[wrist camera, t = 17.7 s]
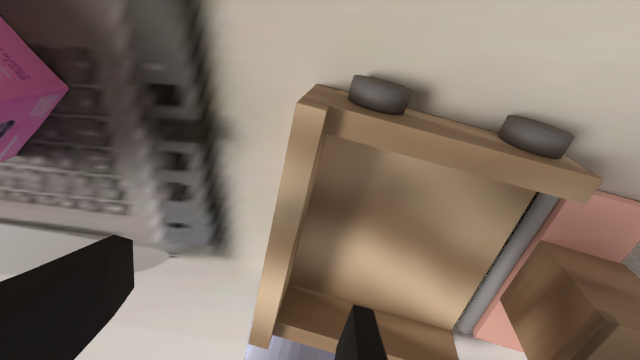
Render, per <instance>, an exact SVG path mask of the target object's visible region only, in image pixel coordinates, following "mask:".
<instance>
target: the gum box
mask: <svg viewBox="0 0 640 360" xmlns="http://www.w3.org/2000/svg"><path fill="white" fill-rule="evenodd" d="M68 90H69V87H68V85H66V84H65V83H64V82H63V81H62V80H61V79H59V78H58V77H57V76H56V75H55V74H54V73H53V72H52V71H51V70H50V69H49V68H48V67H47V65H46V64H45V63H44V62H43V61H42V60H41V59H40V58H39V57H38V56H37V55H36V54H35V53H34V52H33V51H32V50H31V49H30V48H29V47H28V46H27V45H26V44H25V43H24V42H23V40H22V39H21V38H20V37H19V36H18V35H17V33H16V32H15V31H14V30H13V29H12V28H11V27H10V26H9V25H8V24H7V23H6V22H5V21H4V20H3V19H2V18H1V17H0V161H3V160H6V159H8V158H11V157H14V156H15V155H16V154H17V153H18V152H19V150H20V149H21V148H22V147H23V145H24V144H25V143H26V142H27V140H28V139H29V138H30V137H31V136H32V135H33V134H34V133H35V132H36V131H37V129H38V128H39V127H40V126H41V124H42V123H43V122H44V121H45V119H46V118H47V117H48V116H49V114H50V113H51V111H52V110H53V109H54V107H55V106H56V105H57V103H58V102H59V101H60V100H61V98H62V97H63V96H64V95H65V94H66V92H67V91H68Z"/></svg>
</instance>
